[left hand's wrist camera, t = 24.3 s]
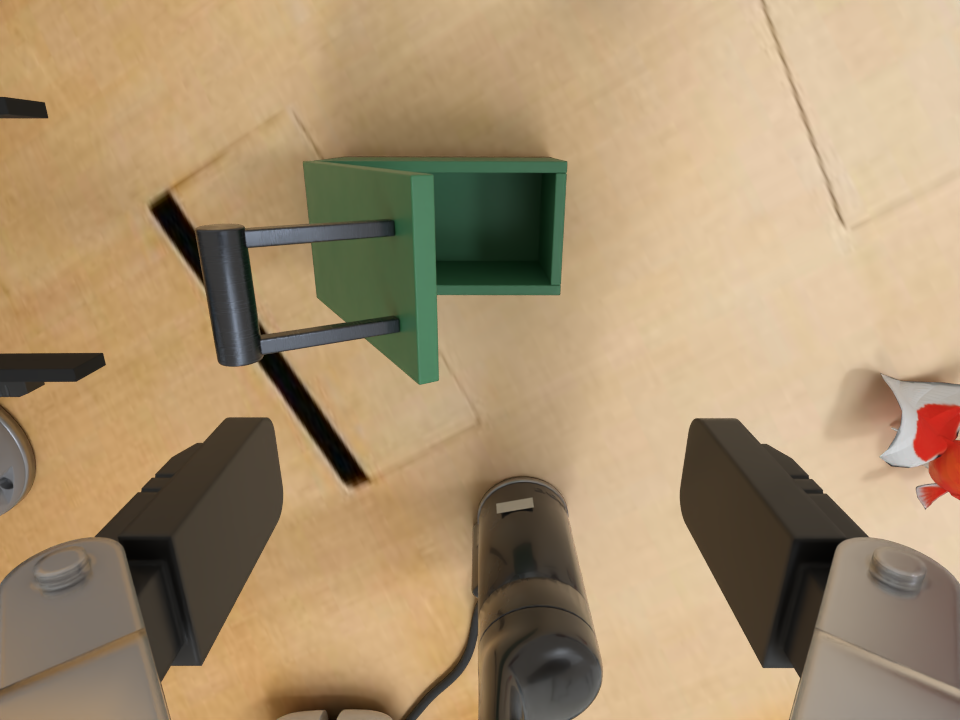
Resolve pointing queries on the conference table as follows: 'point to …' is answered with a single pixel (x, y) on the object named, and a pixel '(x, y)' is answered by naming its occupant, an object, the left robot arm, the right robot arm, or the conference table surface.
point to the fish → (928, 435)
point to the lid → (339, 269)
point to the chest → (492, 221)
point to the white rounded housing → (346, 718)
